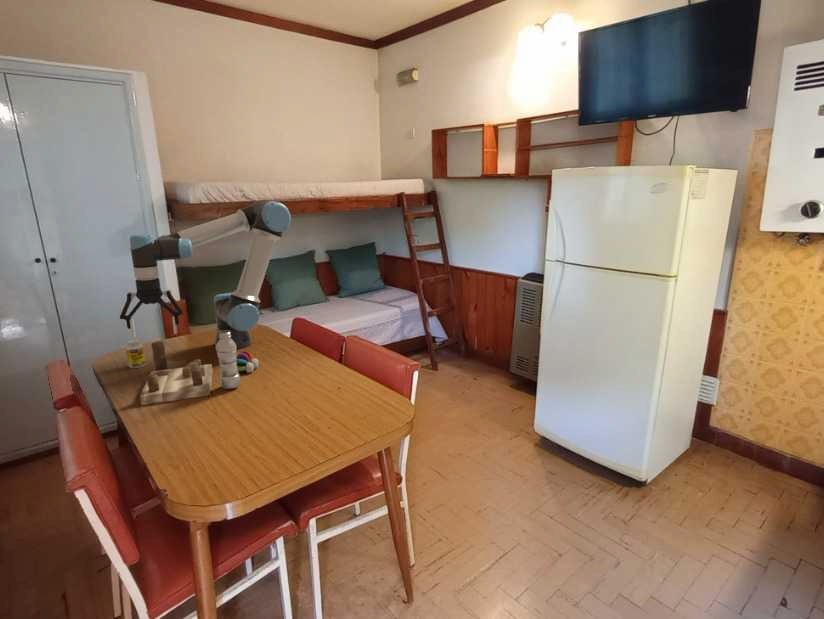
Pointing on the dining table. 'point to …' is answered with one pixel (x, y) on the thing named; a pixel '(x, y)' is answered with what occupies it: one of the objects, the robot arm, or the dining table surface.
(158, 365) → the loose leg
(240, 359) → the multicoloured ball
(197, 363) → the folding leg
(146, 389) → the board
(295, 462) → the dining table surface
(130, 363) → the supplement bottle
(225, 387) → the plastic bottle
